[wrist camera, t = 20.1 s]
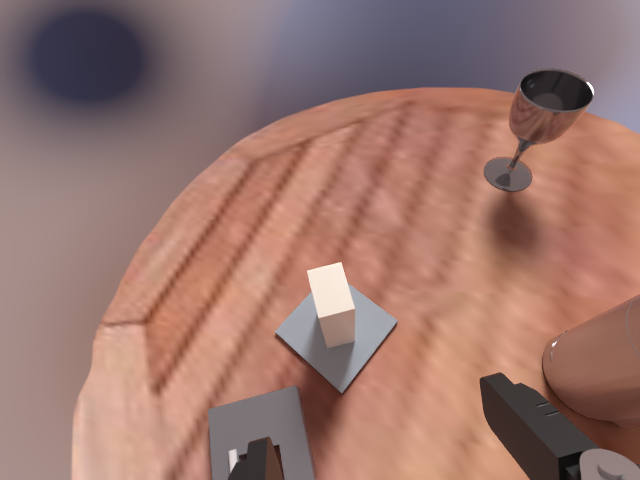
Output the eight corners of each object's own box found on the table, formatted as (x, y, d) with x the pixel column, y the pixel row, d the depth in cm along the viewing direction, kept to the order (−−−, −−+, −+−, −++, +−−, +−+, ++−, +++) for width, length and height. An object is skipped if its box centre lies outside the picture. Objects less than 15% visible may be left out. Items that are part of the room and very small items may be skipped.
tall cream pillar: (354, 341, 42) (355, 308, 31) (327, 348, 41) (318, 318, 31) (344, 303, 44) (341, 262, 34) (318, 310, 44) (307, 270, 34)
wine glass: (543, 190, 51) (607, 106, 38) (490, 196, 51) (535, 114, 39) (523, 152, 55) (575, 64, 42) (474, 157, 56) (510, 72, 43)
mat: (397, 322, 43) (397, 320, 42) (341, 393, 39) (341, 393, 39) (331, 272, 47) (330, 270, 47) (275, 332, 44) (274, 331, 43)
